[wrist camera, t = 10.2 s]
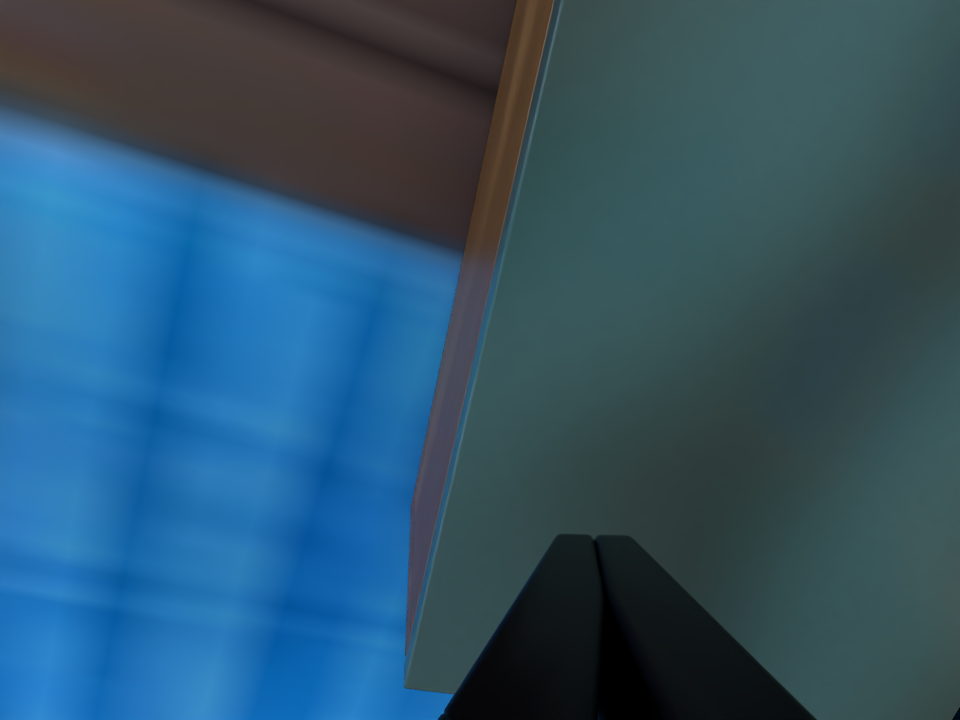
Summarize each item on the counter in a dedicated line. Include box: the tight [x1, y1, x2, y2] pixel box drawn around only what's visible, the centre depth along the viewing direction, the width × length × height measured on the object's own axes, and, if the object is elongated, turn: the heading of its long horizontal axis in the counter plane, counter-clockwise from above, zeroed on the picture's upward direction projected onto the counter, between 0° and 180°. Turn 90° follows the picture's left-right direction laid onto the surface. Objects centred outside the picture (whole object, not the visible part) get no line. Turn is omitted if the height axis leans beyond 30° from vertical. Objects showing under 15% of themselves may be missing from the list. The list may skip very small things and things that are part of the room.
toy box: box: [405, 0, 554, 656], centre depth 18 cm, size 12×16×6 cm
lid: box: [404, 0, 960, 720], centre depth 15 cm, size 13×16×1 cm
